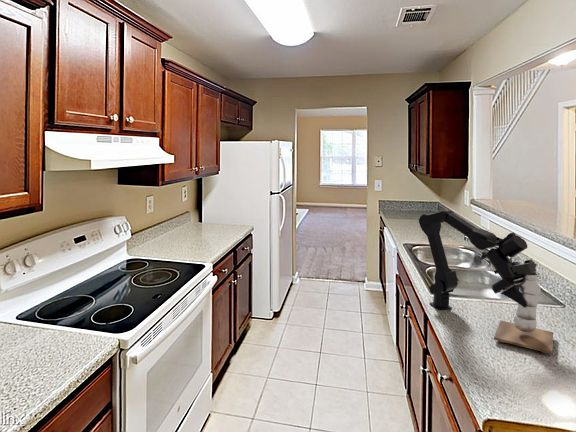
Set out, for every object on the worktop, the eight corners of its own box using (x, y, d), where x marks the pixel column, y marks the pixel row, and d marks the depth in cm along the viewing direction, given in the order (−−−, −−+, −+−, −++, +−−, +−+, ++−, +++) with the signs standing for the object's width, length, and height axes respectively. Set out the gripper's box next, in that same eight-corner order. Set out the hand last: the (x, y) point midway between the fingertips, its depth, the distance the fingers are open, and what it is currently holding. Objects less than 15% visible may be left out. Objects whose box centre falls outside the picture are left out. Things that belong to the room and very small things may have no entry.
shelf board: (493, 342, 126) (494, 337, 126) (500, 325, 139) (500, 320, 139) (551, 357, 117) (552, 351, 117) (552, 337, 130) (553, 332, 129)
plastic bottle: (525, 325, 131) (532, 270, 128) (540, 334, 125) (548, 276, 121) (508, 326, 131) (514, 270, 127) (522, 335, 124) (529, 277, 121)
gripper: (504, 255, 122) (536, 299, 114) (535, 248, 131) (567, 289, 124) (479, 272, 130) (508, 314, 122) (510, 264, 139) (538, 303, 132)
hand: (531, 304), depth 125 cm, fingers closed on plastic bottle, 6 cm apart
